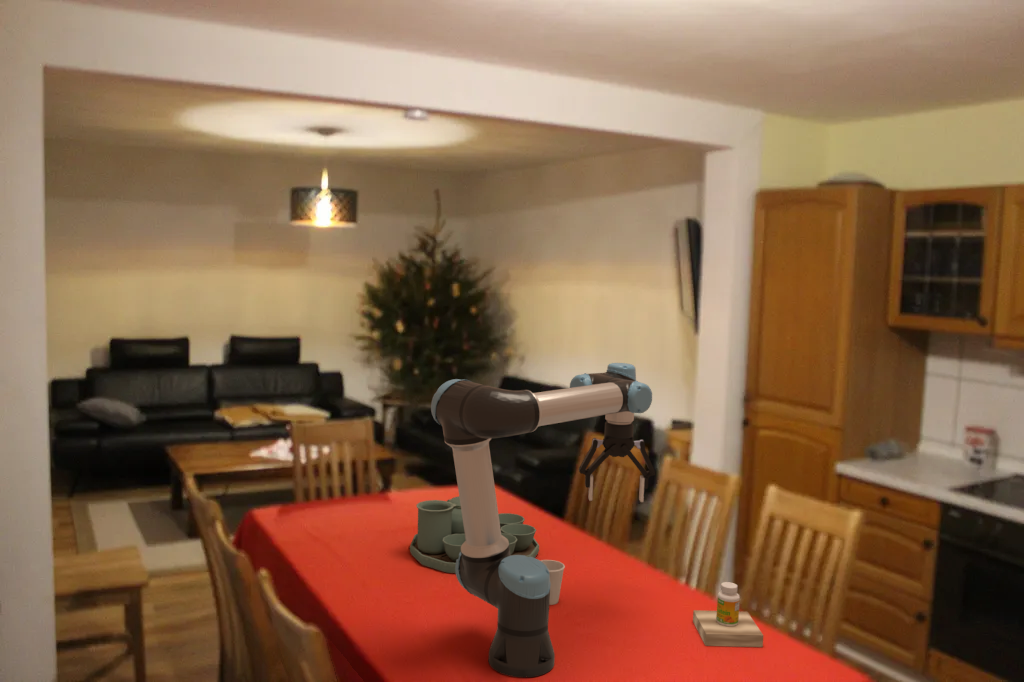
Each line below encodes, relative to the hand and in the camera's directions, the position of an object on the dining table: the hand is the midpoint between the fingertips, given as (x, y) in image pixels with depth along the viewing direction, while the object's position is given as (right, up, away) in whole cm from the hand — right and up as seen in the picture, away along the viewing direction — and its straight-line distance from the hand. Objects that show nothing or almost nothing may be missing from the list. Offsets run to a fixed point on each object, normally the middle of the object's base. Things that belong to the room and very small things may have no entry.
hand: (615, 500), depth 232 cm
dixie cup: (-18, -28, +4) cm, 34 cm away
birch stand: (+26, -31, -14) cm, 43 cm away
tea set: (-39, -24, +40) cm, 61 cm away
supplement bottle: (+26, -28, -14) cm, 41 cm away
